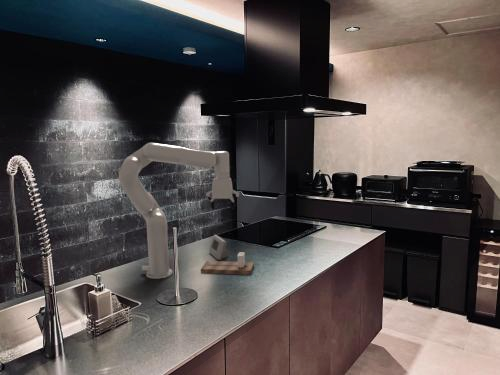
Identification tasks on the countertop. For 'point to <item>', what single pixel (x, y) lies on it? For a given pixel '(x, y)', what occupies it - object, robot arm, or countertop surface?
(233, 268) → the console board
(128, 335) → the countertop surface
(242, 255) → the fader knob
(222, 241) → the digital clock
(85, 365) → the countertop surface
